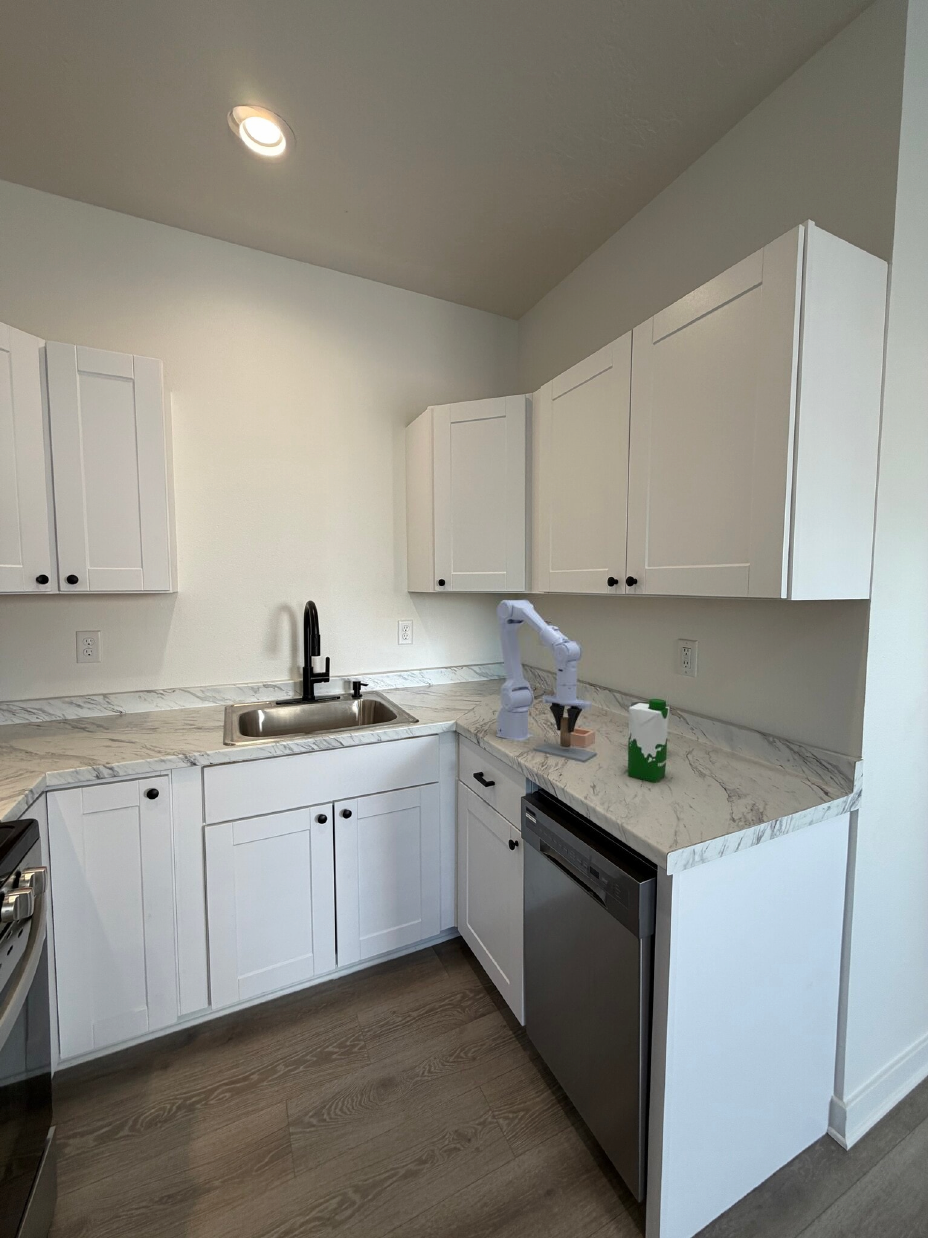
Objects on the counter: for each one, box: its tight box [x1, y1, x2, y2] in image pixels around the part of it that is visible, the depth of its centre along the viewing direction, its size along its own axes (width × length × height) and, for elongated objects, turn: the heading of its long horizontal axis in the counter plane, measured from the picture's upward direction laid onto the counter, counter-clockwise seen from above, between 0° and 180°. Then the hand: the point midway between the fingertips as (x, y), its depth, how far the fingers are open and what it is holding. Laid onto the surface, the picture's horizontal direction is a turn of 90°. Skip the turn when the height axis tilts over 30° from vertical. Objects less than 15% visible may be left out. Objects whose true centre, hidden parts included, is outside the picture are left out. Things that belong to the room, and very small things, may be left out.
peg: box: [559, 716, 572, 747], centre depth 149 cm, size 3×3×8 cm
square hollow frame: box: [571, 726, 596, 749], centre depth 159 cm, size 7×7×4 cm
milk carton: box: [627, 698, 670, 784], centre depth 132 cm, size 9×9×20 cm
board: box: [533, 741, 598, 764], centre depth 149 cm, size 16×8×1 cm, turn 52°
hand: (565, 730), depth 149 cm, fingers closed on peg, 3 cm apart
